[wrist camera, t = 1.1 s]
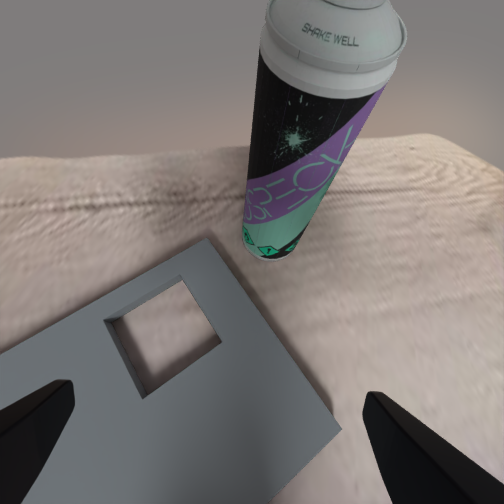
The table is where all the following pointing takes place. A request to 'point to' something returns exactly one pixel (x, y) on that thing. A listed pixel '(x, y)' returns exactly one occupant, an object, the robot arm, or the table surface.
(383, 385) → the table surface
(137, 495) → the hole board
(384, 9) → the spray can
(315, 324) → the table surface
